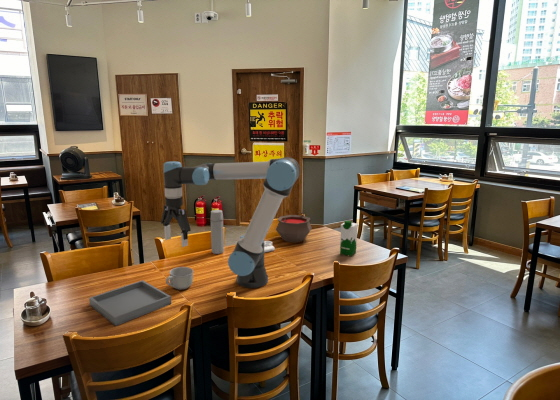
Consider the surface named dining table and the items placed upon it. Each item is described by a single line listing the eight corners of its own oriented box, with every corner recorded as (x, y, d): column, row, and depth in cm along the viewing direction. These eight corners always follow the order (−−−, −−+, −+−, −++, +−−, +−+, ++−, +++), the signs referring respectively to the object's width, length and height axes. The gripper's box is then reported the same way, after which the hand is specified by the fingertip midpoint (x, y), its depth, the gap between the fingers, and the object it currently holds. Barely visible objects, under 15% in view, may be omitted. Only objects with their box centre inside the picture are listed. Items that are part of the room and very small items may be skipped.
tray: (171, 303, 160) (170, 296, 159) (115, 326, 143) (114, 317, 142) (143, 287, 176) (142, 280, 175) (89, 305, 159) (89, 297, 158)
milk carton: (338, 254, 220) (339, 221, 215) (344, 249, 227) (345, 217, 223) (352, 257, 215) (353, 223, 211) (358, 252, 222) (359, 219, 218)
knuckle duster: (252, 256, 217) (241, 249, 229) (279, 250, 226) (266, 244, 238) (252, 250, 216) (241, 243, 228) (279, 245, 226) (266, 239, 238)
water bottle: (221, 255, 218) (220, 213, 212) (209, 254, 219) (207, 212, 214) (227, 249, 227) (226, 209, 221) (214, 248, 228) (213, 208, 223)
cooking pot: (288, 231, 264) (288, 208, 260) (318, 237, 250) (319, 214, 247) (268, 240, 244) (268, 216, 241) (299, 247, 231) (299, 221, 227)
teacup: (186, 280, 184) (185, 264, 182) (198, 287, 176) (197, 271, 175) (159, 288, 174) (158, 272, 173) (171, 296, 167) (170, 279, 165)
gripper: (197, 199, 161) (199, 246, 165) (166, 191, 177) (168, 234, 182) (182, 202, 155) (184, 251, 160) (151, 194, 172) (154, 238, 176)
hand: (176, 242), depth 171 cm, fingers open, 13 cm apart
